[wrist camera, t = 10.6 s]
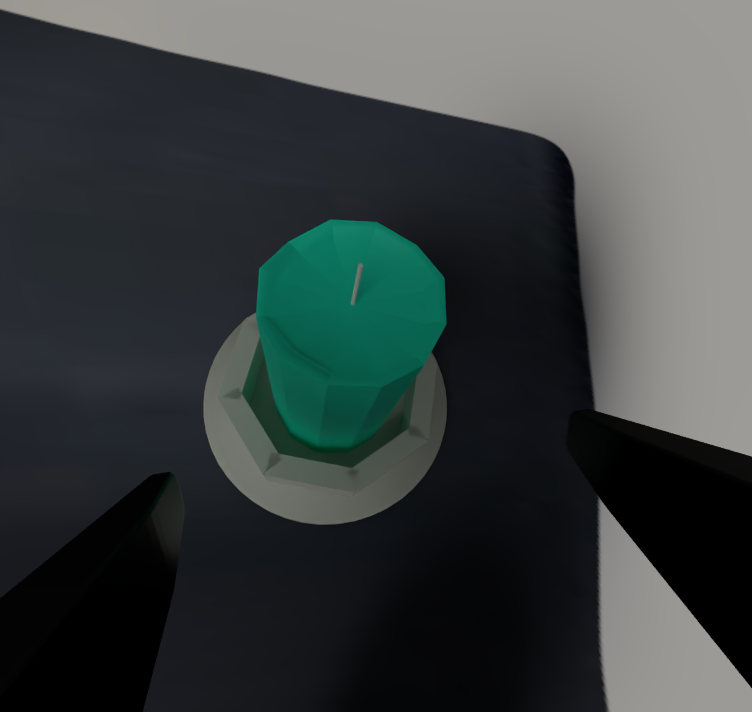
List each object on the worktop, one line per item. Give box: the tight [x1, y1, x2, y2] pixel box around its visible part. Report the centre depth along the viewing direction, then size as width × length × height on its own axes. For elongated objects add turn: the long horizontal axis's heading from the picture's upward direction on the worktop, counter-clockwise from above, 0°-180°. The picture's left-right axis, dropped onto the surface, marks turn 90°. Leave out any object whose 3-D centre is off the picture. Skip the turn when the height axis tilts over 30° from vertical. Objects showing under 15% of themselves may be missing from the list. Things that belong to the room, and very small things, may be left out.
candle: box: [256, 220, 447, 453], centre depth 17 cm, size 6×6×12 cm
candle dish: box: [204, 312, 447, 525], centre depth 21 cm, size 13×13×4 cm
